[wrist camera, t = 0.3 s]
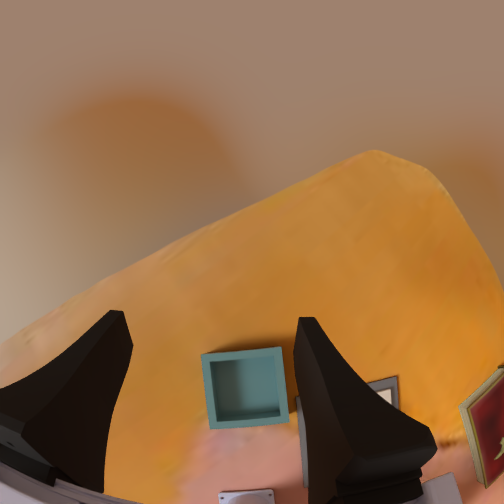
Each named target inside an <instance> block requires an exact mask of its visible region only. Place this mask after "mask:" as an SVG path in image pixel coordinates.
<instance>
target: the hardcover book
mask: <svg viewBox="0 0 504 504" xmlns="http://www.w3.org/2000/svg"><path fill="white" fill-rule="evenodd" d="M458 408H459V411H460V414H461V417H462V420H463V424H464V427H465V431H466V434H467V438H468V442H469V446H470V450H471V454H472V458H473V462H474V466H475V471H476V476H477V480H478V482H480V483H482V484H484V485H485V488H486V489H487V488H488V487H489V486H490V485H491V484H492V483H493V482H494V481H495V480H496V479H497V478H498V477H499V476H500V475H501V474H502V473H503V472H504V365H501V366H498V369H497V370H496V371H495V372H494V373H493V374H492V376H491V377H490V378H488V379H487V380H486V381H485V382H484V383H483V384H482V385H481V386H480V387H479V388H478V389H477V390H476V391H475V392H474V393H473V394H472V395H471V396H469V397H468V398H467V399H466V400H465V401H464V402H463V403H461V404H460V405H459V406H458Z"/></svg>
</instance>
